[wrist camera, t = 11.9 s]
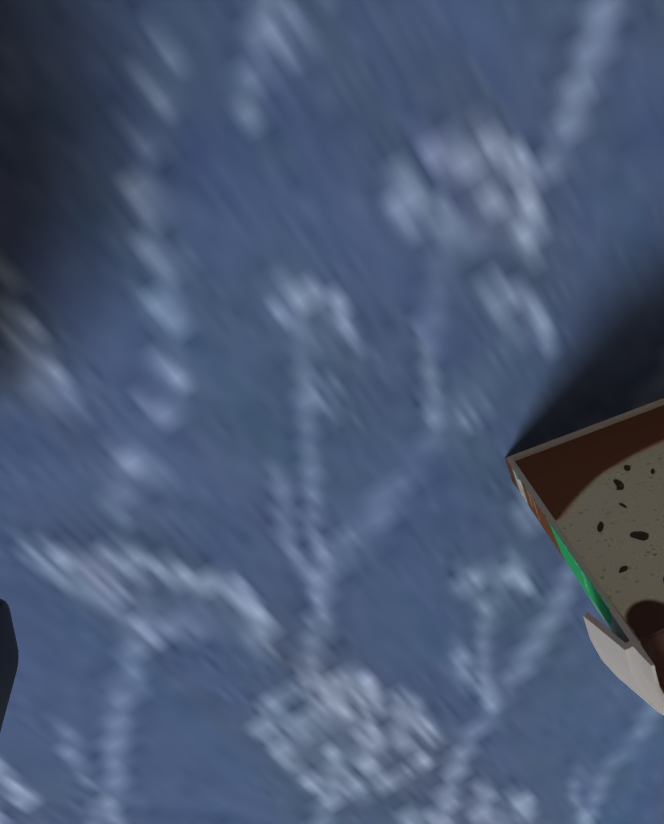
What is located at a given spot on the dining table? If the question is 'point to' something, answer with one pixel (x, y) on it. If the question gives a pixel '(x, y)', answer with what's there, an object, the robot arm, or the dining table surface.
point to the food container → (609, 533)
